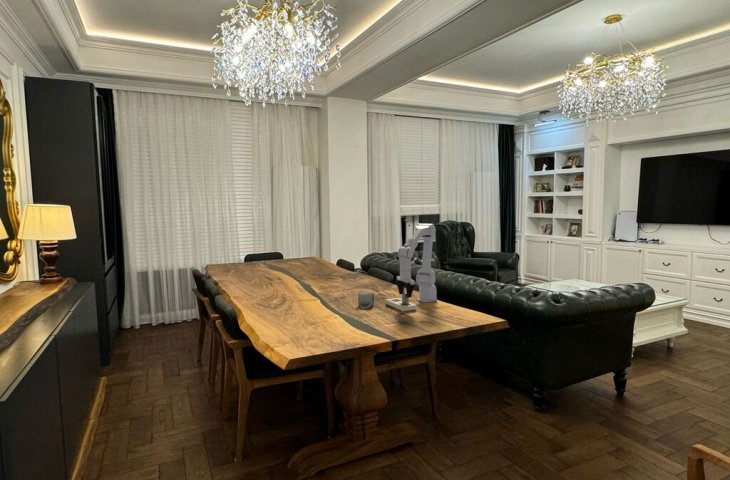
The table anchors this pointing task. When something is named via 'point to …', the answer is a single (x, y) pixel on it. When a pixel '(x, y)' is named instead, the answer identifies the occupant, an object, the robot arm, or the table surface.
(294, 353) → the table surface
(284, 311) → the table surface
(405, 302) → the pin
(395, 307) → the board
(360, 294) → the ceramic mug
